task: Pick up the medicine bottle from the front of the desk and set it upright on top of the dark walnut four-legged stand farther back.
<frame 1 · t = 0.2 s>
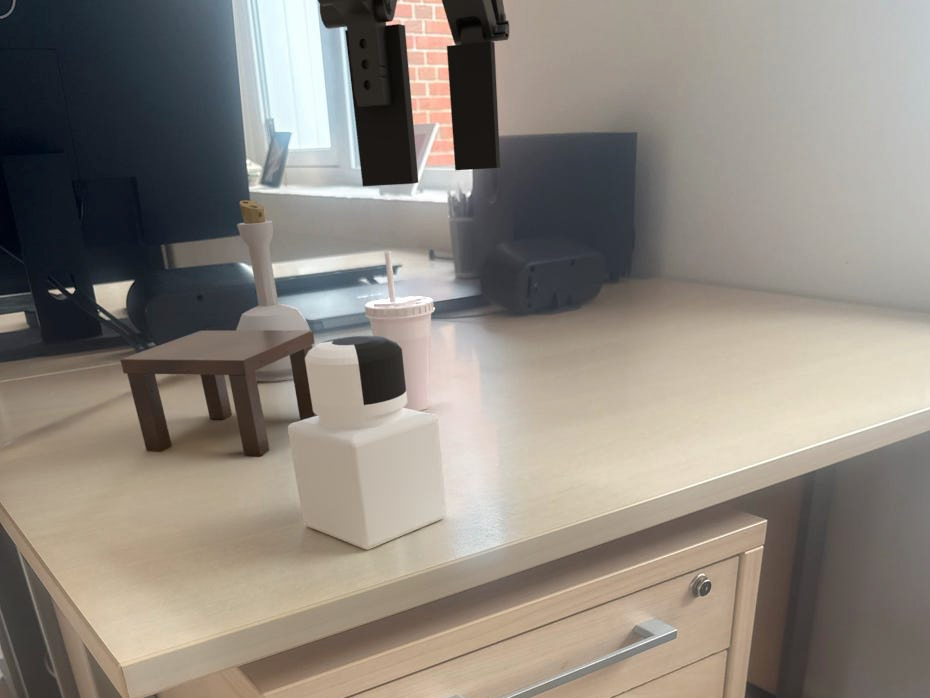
hand: (439, 176, 51), 21 cm above the table, tool pointing down, fingers open, 13 cm apart
medicine bottle: (375, 525, 62), on the table
stand: (237, 433, 83), on the table
smoothie: (409, 409, 88), on the table
potion bottle: (280, 376, 104), on the table
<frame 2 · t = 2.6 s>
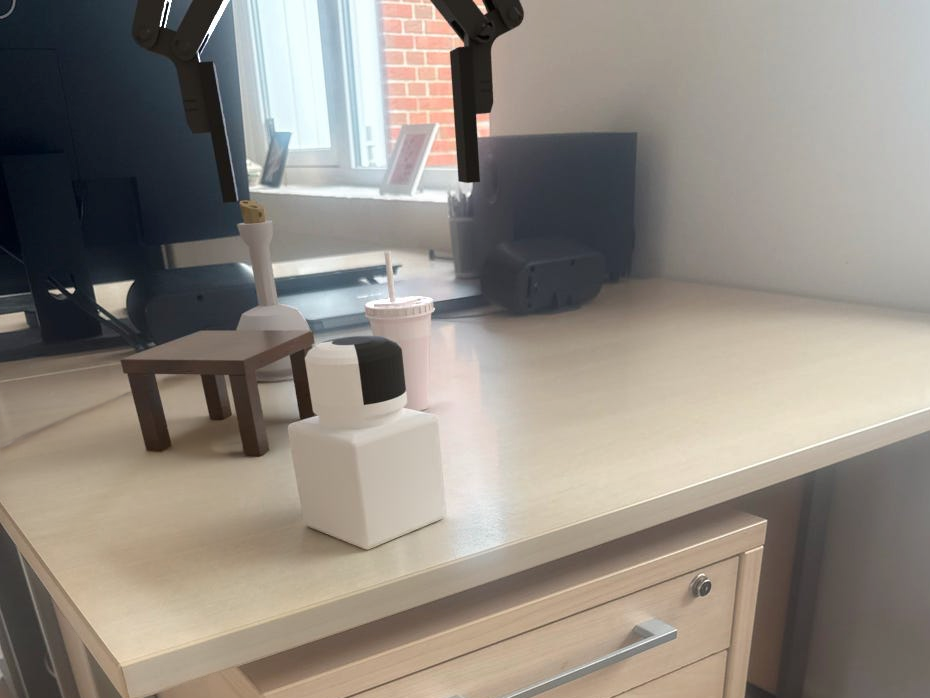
hand: (352, 192, 52), 20 cm above the table, tool pointing down, fingers open, 13 cm apart
nothing on the table moved.
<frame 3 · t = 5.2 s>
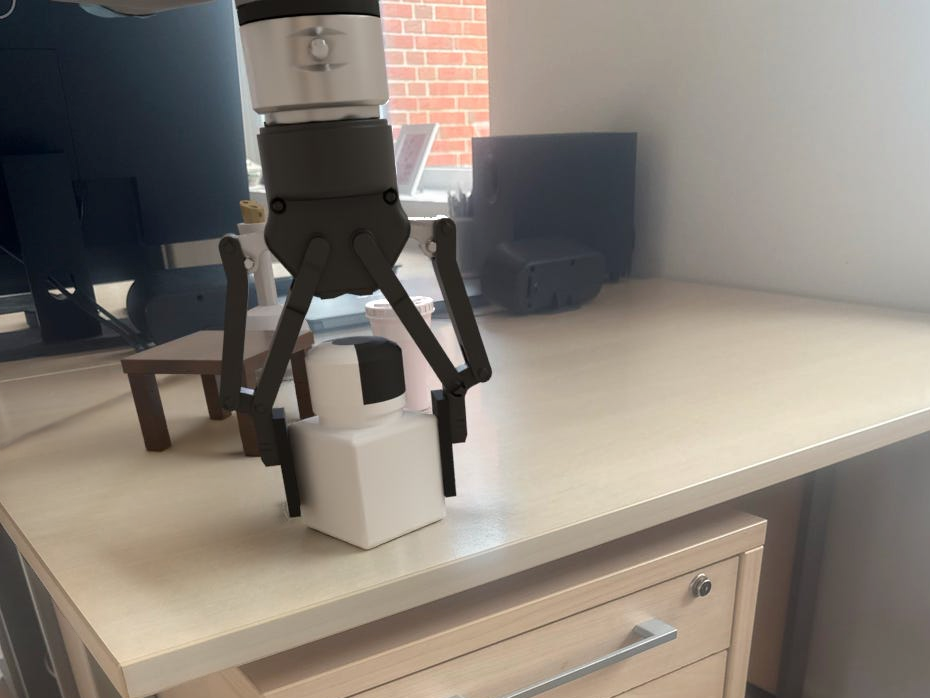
hand: (372, 500, 61), 2 cm above the table, tool pointing down, fingers closed on medicine bottle, 10 cm apart
medicine bottle: (375, 525, 62), on the table, touching gripper
everything else where it was.
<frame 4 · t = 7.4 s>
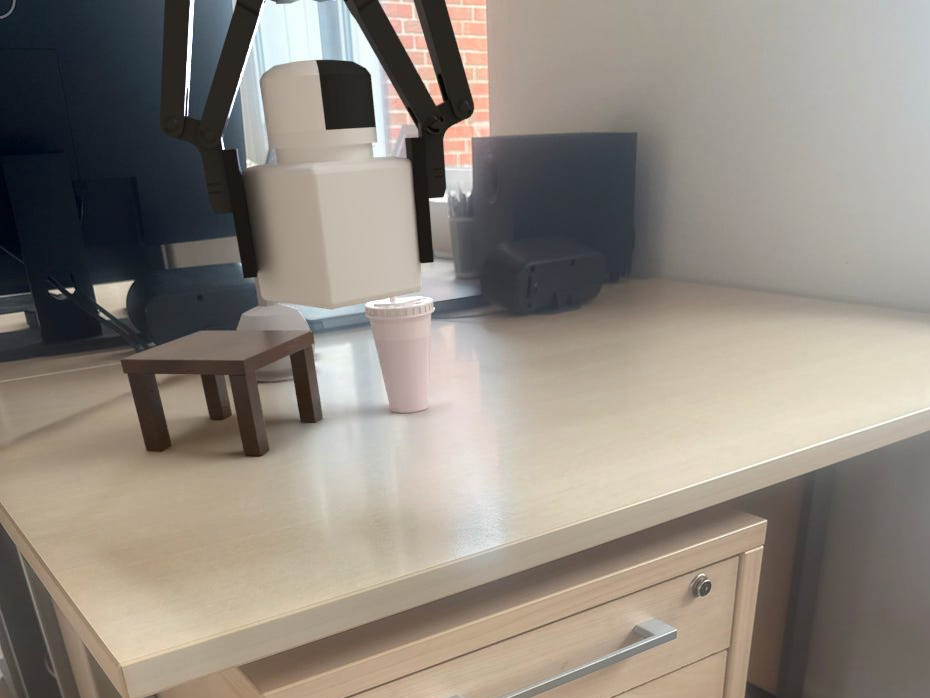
hand: (338, 267, 54), 16 cm above the table, tool pointing down, fingers closed on medicine bottle, 10 cm apart
medicine bottle: (342, 299, 55), point 14 cm above the table, touching gripper
everything else where it was.
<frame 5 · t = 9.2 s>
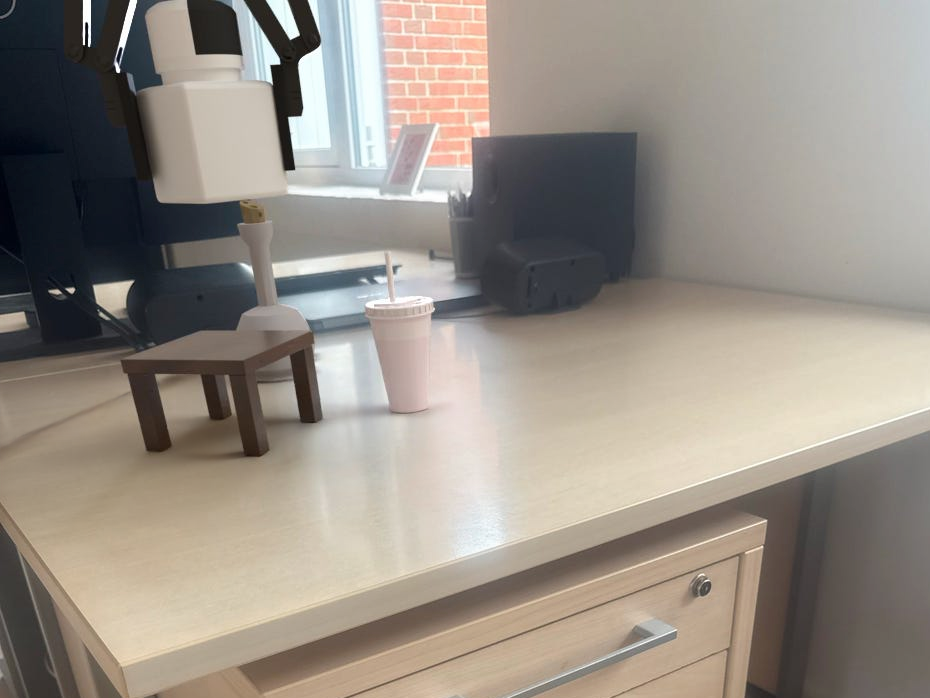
hand: (218, 174, 66), 21 cm above the table, tool pointing down, fingers closed on medicine bottle, 10 cm apart
medicine bottle: (223, 202, 67), point 19 cm above the table, touching gripper
everything else where it was.
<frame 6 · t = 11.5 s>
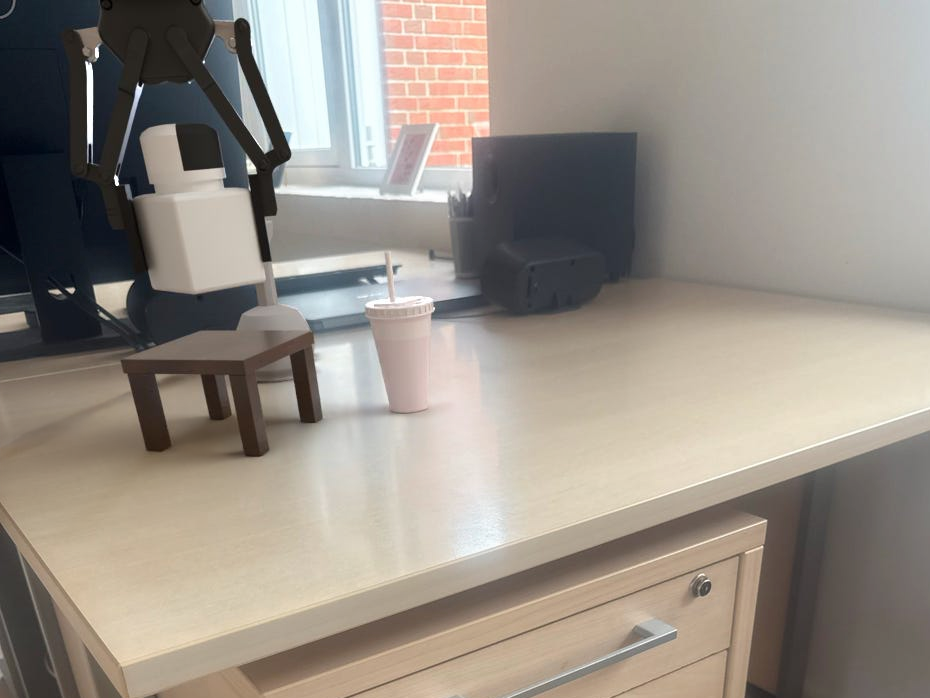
hand: (205, 266, 76), 14 cm above the table, tool pointing down, fingers closed on medicine bottle, 10 cm apart
medicine bottle: (209, 288, 77), point 13 cm above the table, touching gripper
everything else where it was.
when the fingers open (10 cm above the table, at t = 13.3 s): medicine bottle stays where it is, resting on stand.
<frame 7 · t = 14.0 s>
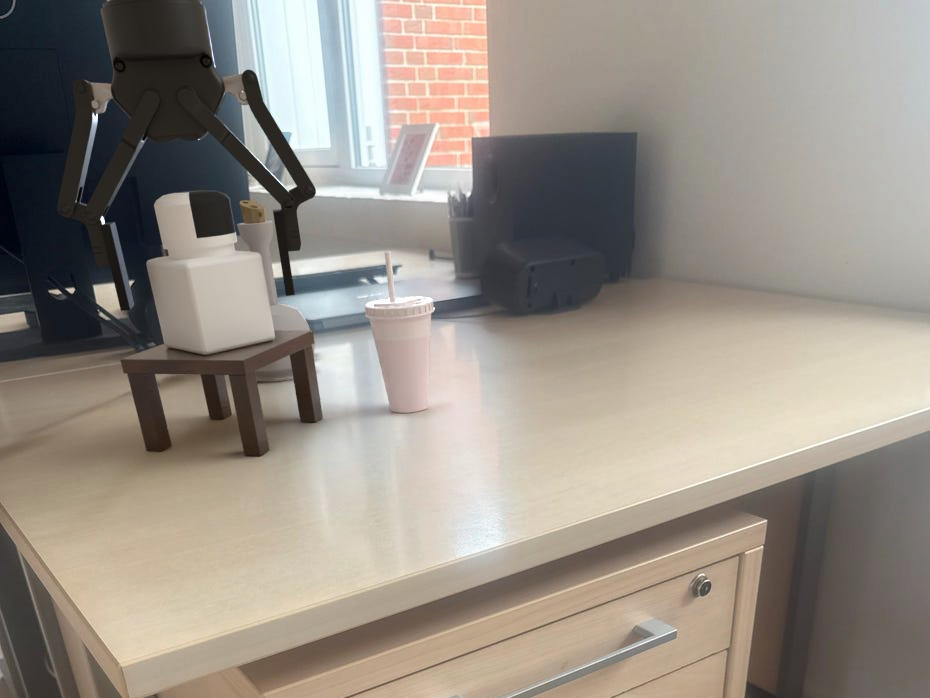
hand: (210, 301, 78), 12 cm above the table, tool pointing down, fingers open, 13 cm apart
medicine bottle: (220, 346, 79), point 8 cm above the table, touching stand
everything else where it was.
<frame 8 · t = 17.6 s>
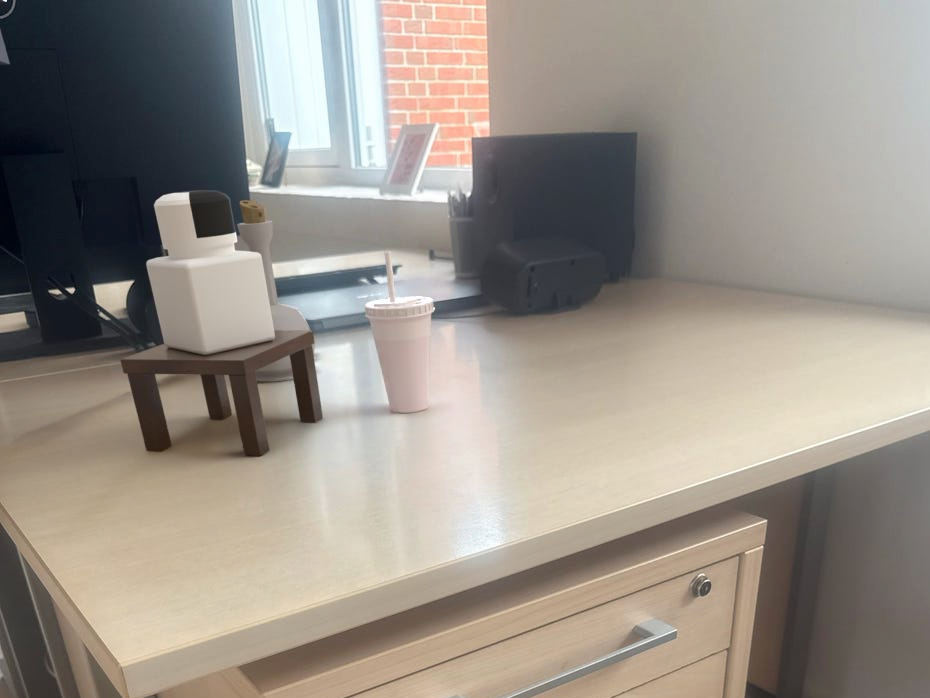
nothing on the table moved.
at the end: medicine bottle inside the target area on the stand (0.0 cm from its centre), point 7.8 cm above the stand's base; medicine bottle tilted 0°; the gripper is holding nothing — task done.
